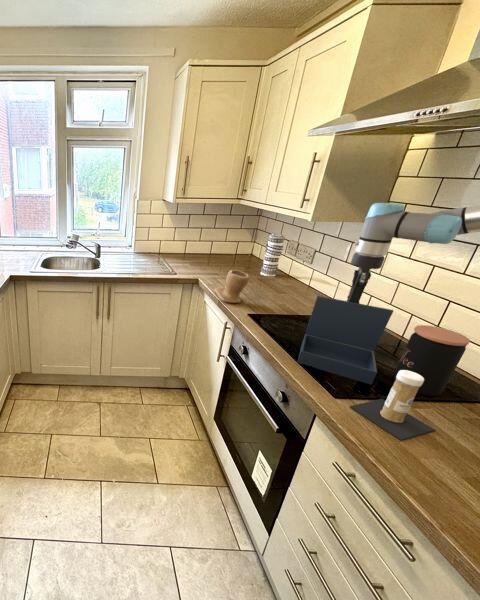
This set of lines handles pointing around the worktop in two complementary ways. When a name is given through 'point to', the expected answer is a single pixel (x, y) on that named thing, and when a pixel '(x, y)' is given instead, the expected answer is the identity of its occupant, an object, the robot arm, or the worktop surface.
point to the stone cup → (233, 286)
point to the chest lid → (348, 322)
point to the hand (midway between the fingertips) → (345, 321)
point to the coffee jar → (432, 357)
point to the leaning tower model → (272, 255)
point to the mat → (398, 430)
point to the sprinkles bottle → (401, 395)
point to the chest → (338, 358)
